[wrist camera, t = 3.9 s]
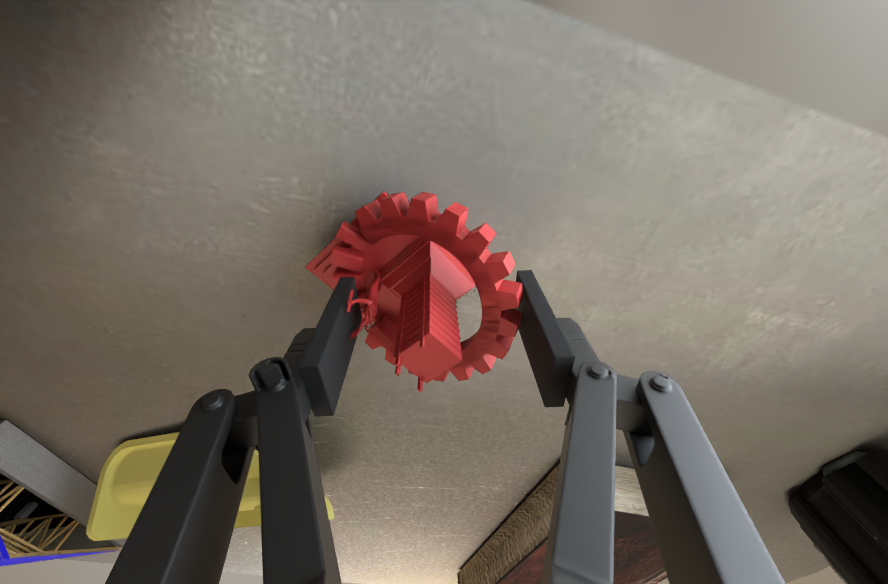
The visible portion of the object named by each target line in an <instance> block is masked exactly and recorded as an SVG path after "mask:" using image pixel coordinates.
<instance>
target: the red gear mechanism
mask: <svg viewBox="0 0 888 584" xmlns="http://www.w3.org/2000/svg"><path fill="white" fill-rule="evenodd" d="M355 214H356V216H357V217H356V218H355V219H354V220H353V221H352V222H351V223H350V224H349V223H347V222H346V221H344V222H343V223H342V225H341V227H340V229H339V230H338V232H337V234H336V236H335V238H334V239H333V240H332V241H331V242H330V243H329V244H328V245H327V246H326V247H325V248H324V249H323V250H322V251H321V252H320V253H319V254H318V255H317V256H316V257H315V258H313V259H312V260H311V261H310V262H309V263H308V264H307V265H306V267H305V268H306V269H307V270H309V271H310V272H311V273H313V274H314V275H315V276H316V277H318V278H319V279H320V280H321V281H323V282H324V283H325V284H326V285H328V286H329V287H330V288H332V289H333V290H334V289H335V287H336V285H337V282H338V280H339V278H340V277H354V278H355V283H356V288H357V293H358V298H357V299H355V300H352V296H353V291H354V290H351V292H350V297H349V301H348V302H347V303H348V309H347V312H350V309H351V306H352V305H353V304H354V303H356V302H358V303H360V308H361V314H362V322H361V323H360V325H359V327H358V329H357V330H355V331H354V332H352V334H351V336H350V338H354V337H356V336H357V335H358V333H359V332H360V331H361V329H362V328H363V327H364V326H365V329H367V327H368V325H367V324H369V323H370V326H371V325H372V322H375V323H374V324H373V325H372V326H371V327H369V329H368V330H366V331H367V332H368V333H369V334H368V336H367V338H366V340H365V343H366V344H367V345H368V346H369V347H370V348H371V349H375V348H377V347H380V346H382V347H384V348H385V349H386V356H385V360H387V361H388V362H390V363H391V364H393V365H395V366H396V370H395V374H396V375H400V369H401V364H402V365H403V366H404V367H405V368H407V369H408V372H409V373H411V374H414V375H416V376H417V377H418V391H420V392H421V391H422V386H423V381H424V382H425V383H428V382H429V381H431V380H438V381H444V380H445V378H446V377H447V375H448V373H449V372H450V371H451V373H452V374H453V375H454V376H455V377H456V378H457V379H458V380H459V381H461V380H467V379H469V378H470V376H471V374H472V372H473V370H474V369H476V370H477V371H479V372H480V373H481V374H484V373H486V372H488V371H489V370H491V368H492V366H493V364H494V362H495V359H496V357H497V358H499V359H503V358H504V357H505V355H506V354H507V353H508V351H509V349H510V346H511V343H512V341H513V337H515V336H516V333H517V330H518V328H519V325H520V322H521V318H522V313H521V312H519V311H517V310H515V309H513V308H518V307H519V304H520V302H521V300H522V297H523V289H522V283H519V282H514V281H508V280H503V278H505V277H506V276H508V275H509V274H510V273H511V271H512V269H513V267H514V265H515V262H514V260H513V258H512V256H511V254H510V252H509V251H507V252H500V253H494V254H491V253H490V252H489V250H488V249H487V247H488V245H489V244H490V242H491V241H492V239H493V238H494V236H495V235H496V232H495V231H494V230H493V229H492V228H491V227H490V226H489V225H488V224H487V223H485V224H483V225H481V226H480V227H478V228H476V229H474V230H473V231H469V230H468V229H467V228H466V227H465V224H466V219H467V214H468V208H466V207H464V206H462V205H460V204H459V203H457V202H455V203H454V204H452V205H451V206H449V207H448V208H447V209H446V210H445V211H444V212H443V214H439V211H438V205H437V198H436V195H435V194H430V193H425V192H422V193H420V194H418V195H417V196H415V197H413V198H411V202H410V203H409V201H408V199H407V197H406V195H405V193H404V192H401V193H395V194H391V195H389V196H388V195H387V194H386V193H385V192H384V191H383V192H382V193H381V194H380V195H379V196H378V197H377V198H376V199H375V200H374V201H373V202H371V203H369V204H367V205H365V206H363V207H361V208H360V209H358V210H357V211H355ZM474 283H475V284H474ZM475 285H476V287H477V289H478V292H479V295H480V299H481V304H482V321H481V326H480V329H479V330H478V331H477V332H476V333H475V334H474V335H473V336H472V337H470V338H469V339H467V340H465V341H463V342H460V337H459V332H460V331H459V328H458V325H459V324H458V320H457V319H458V317H457V311H456V307H457V306H456V300H457V299H458V298H460V297H461V296H462V295H464V294H465V293H467V292H468V291H469V290H471V289H472V288H473V287H475ZM351 304H352V305H351ZM366 325H367V327H366Z"/></svg>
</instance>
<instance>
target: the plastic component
mask: <svg viewBox="0 0 888 584" xmlns="http://www.w3.org/2000/svg"><path fill="white" fill-rule="evenodd" d="M179 433H180V432H177V433H171V434H165V435H159V436H153V437H147V438H141V439H135V440H129V441H125V442H124V443H122V444H120V445H119V446H118V447H117V448H116V449H115V450H114V451H113V452H112V453H111V454H110V456H109V457H108V459H107V460H106V462H105V464H104V466H103V468H102V471H101V473H100V477H99V481H98V485H97V489H96V493H95V497H94V501H93V504H92V508H91V512H90V516H89V520H88V524H87V529H86V533H87V535H88V537H89V538H90V539H92V540H93V541H102V540H112V539H122V538H128V536H129V534H130V532H131V530H132V528H133V526H134V524H135V522H136V520H137V518H138V516H139V514H140V512H141V510H142V508H143V506H144V504H145V502H146V500H147V498H148V496H149V494H150V491H151V489H152V487H153V485H154V483H155V481H156V479H157V477H158V475H159V473H160V471H161V469H162V467H163V465H164V463H165V461H166V459H167V457H168V455H169V453H170V451H171V449H172V447H173V445H174V443H175V441H176V439H177V437H178V435H179ZM325 501H326V507H327V512H328V517H329V520H331V519H334V512H333V508H332V505H331V503H330V501H329V499H328V498H327V497H325ZM250 526H261V508H260V481H259V454H258V451H257V450H254V453H253V457H252V461H251V465H250V468H249V472H248V476H247V480H246V484H245V487H244V491H243V495H242V499H241V502H240V506H239V510H238V514H237V517H236V521H235V525H234V528H239V527H250Z"/></svg>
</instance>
